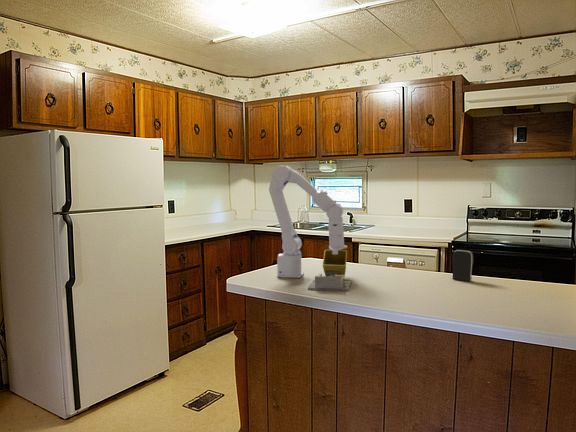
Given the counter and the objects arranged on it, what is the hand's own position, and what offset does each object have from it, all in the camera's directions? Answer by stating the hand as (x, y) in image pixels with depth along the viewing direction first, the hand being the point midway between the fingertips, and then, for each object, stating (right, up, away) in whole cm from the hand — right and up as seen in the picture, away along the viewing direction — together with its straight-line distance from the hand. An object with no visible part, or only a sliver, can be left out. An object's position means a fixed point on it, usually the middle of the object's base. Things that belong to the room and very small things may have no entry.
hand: (337, 269), depth 176 cm
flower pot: (-1, -2, -2) cm, 3 cm away
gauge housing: (-5, -5, -15) cm, 16 cm away
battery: (+46, -4, -7) cm, 47 cm away
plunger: (-3, -4, -13) cm, 14 cm away
